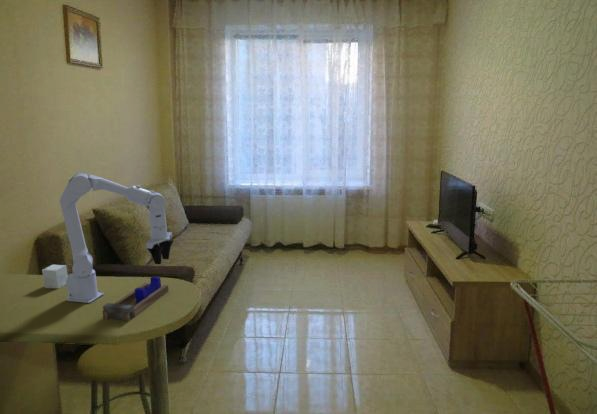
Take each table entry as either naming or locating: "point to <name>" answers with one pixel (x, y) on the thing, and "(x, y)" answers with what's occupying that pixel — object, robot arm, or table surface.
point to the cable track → (129, 311)
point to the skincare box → (55, 276)
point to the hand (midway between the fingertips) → (161, 261)
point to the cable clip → (147, 289)
